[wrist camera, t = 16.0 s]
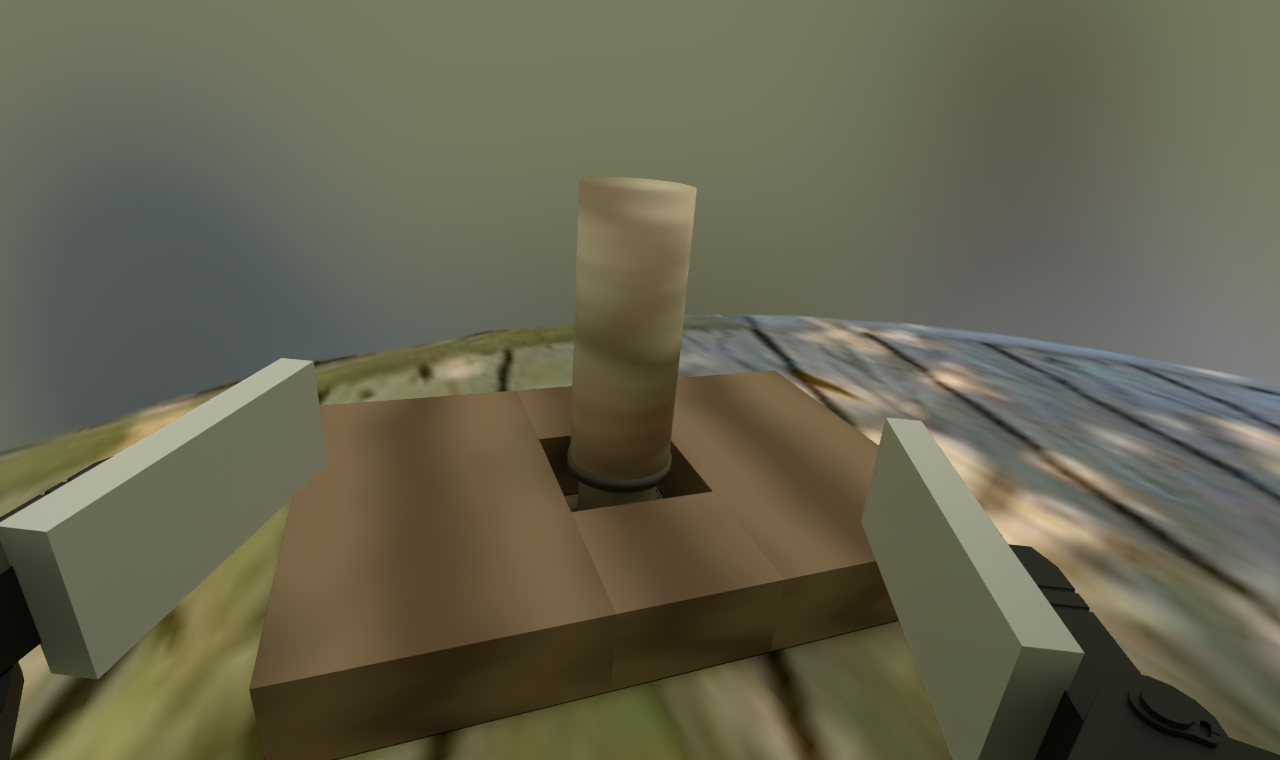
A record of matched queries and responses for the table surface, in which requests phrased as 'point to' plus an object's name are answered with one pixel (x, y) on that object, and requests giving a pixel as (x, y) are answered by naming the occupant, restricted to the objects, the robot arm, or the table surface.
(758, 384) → the board
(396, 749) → the table surface
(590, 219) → the peg
